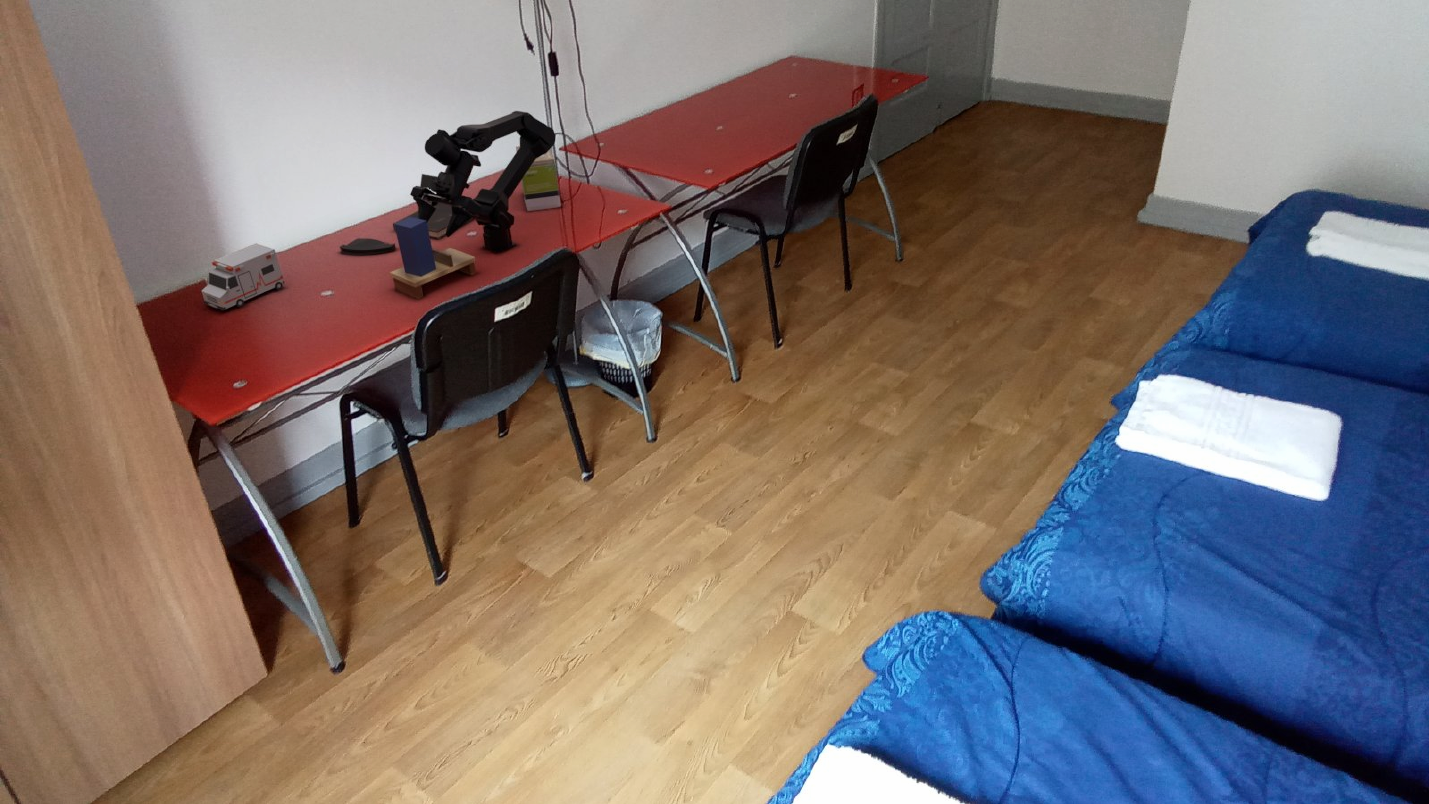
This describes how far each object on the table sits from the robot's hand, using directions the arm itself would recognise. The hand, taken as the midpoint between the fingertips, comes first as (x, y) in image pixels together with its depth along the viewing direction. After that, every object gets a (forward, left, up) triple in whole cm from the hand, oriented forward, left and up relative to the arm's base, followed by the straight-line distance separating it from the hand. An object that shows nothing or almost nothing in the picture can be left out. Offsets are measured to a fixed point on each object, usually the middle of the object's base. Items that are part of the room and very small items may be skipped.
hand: (433, 233), depth 239 cm
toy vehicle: (+35, -31, -12) cm, 48 cm away
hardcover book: (-24, -31, -12) cm, 41 cm away
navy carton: (+6, +1, -7) cm, 10 cm away
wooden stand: (+2, 0, -12) cm, 12 cm away
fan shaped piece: (+1, -31, -12) cm, 33 cm away
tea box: (-50, -19, -12) cm, 55 cm away
